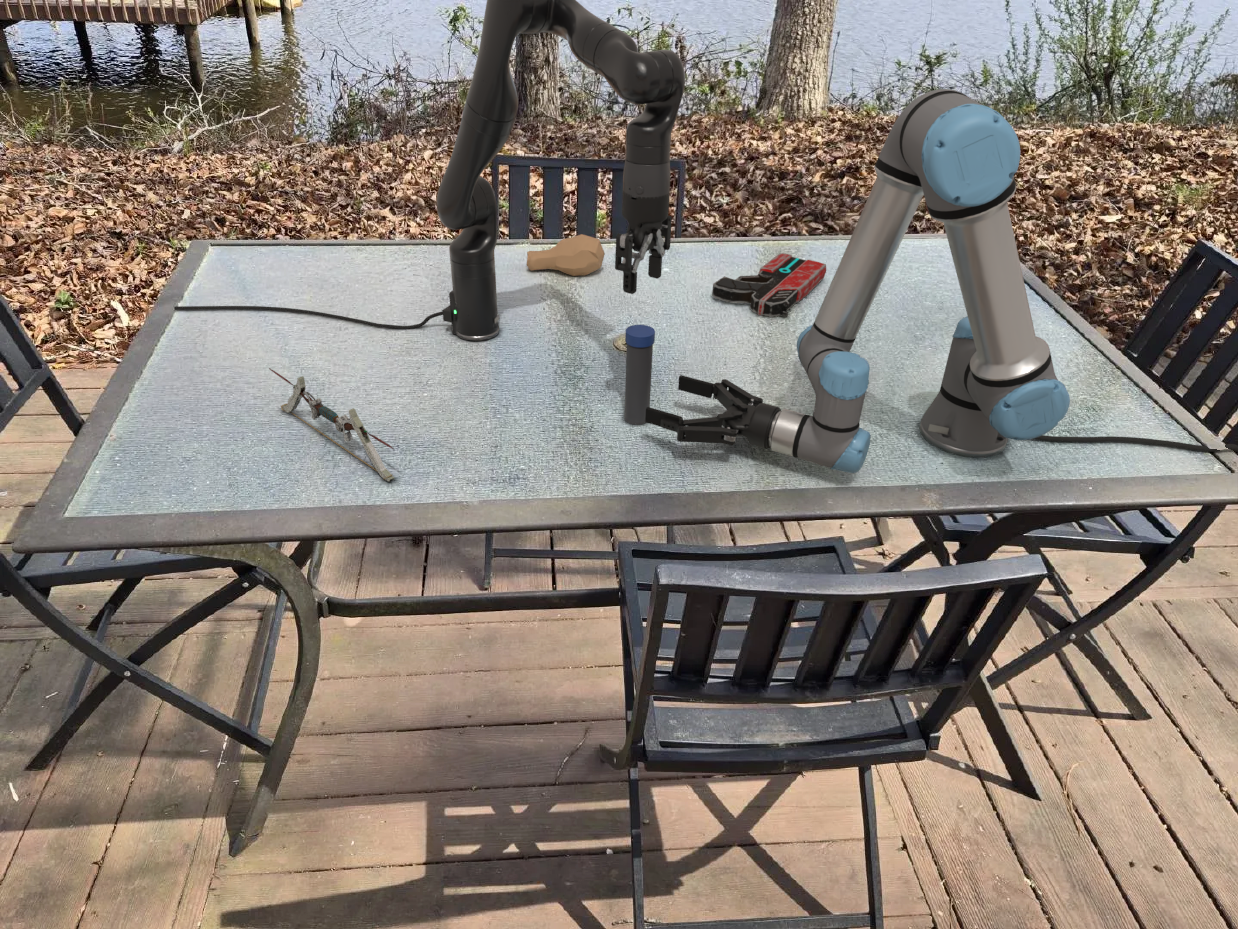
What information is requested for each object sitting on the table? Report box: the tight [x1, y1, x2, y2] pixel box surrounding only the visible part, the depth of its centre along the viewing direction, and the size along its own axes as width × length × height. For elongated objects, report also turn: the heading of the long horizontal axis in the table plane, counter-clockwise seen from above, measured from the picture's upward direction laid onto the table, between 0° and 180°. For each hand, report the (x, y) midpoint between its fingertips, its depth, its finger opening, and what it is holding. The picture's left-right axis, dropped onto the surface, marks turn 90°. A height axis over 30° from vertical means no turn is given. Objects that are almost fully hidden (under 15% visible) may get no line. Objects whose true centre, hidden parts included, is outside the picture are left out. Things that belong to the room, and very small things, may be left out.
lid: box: [624, 324, 656, 348], centre depth 154 cm, size 5×5×2 cm
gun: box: [711, 252, 827, 318], centre depth 215 cm, size 4×31×19 cm
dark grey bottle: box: [623, 343, 654, 426], centre depth 159 cm, size 5×5×18 cm
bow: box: [269, 367, 396, 483], centre depth 151 cm, size 39×2×10 cm, turn 47°
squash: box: [526, 233, 606, 277], centre depth 222 cm, size 11×20×9 cm, turn 90°
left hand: (642, 284), depth 149 cm, fingers open, 7 cm apart
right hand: (663, 397), depth 157 cm, fingers open, 13 cm apart
